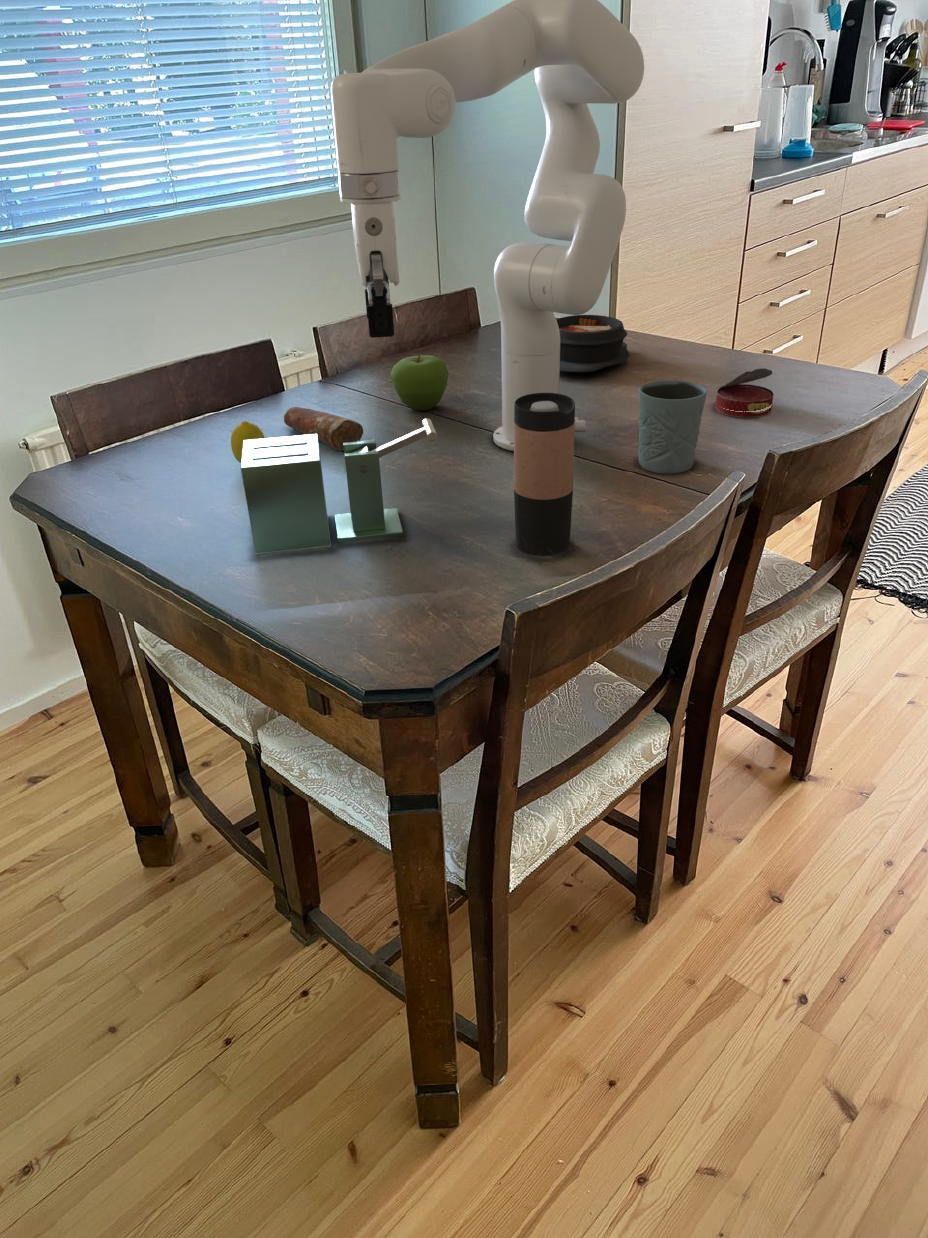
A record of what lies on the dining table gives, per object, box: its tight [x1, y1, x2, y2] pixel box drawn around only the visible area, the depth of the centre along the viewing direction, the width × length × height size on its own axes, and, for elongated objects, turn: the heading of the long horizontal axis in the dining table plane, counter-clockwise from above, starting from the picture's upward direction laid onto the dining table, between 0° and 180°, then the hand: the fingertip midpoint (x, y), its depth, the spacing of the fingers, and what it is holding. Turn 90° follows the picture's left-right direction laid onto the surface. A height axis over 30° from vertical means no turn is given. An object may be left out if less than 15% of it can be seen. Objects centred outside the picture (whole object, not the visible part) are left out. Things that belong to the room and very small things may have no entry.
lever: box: [352, 417, 438, 459], centre depth 124 cm, size 12×6×2 cm, turn 99°
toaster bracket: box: [333, 439, 404, 544], centre depth 127 cm, size 9×8×12 cm
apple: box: [390, 354, 450, 412], centre depth 172 cm, size 11×10×10 cm
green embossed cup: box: [638, 379, 708, 475], centre depth 144 cm, size 10×10×12 cm
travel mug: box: [513, 393, 576, 557], centre depth 118 cm, size 8×8×20 cm
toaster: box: [240, 434, 332, 556], centre depth 125 cm, size 10×10×13 cm
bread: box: [283, 406, 364, 451], centre depth 160 cm, size 6×19×6 cm, turn 39°
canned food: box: [714, 367, 774, 419], centre depth 166 cm, size 11×10×10 cm
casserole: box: [556, 314, 631, 374], centre depth 193 cm, size 25×19×8 cm
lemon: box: [230, 420, 265, 464], centre depth 149 cm, size 6×6×8 cm
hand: (380, 327), depth 124 cm, fingers open, 9 cm apart
